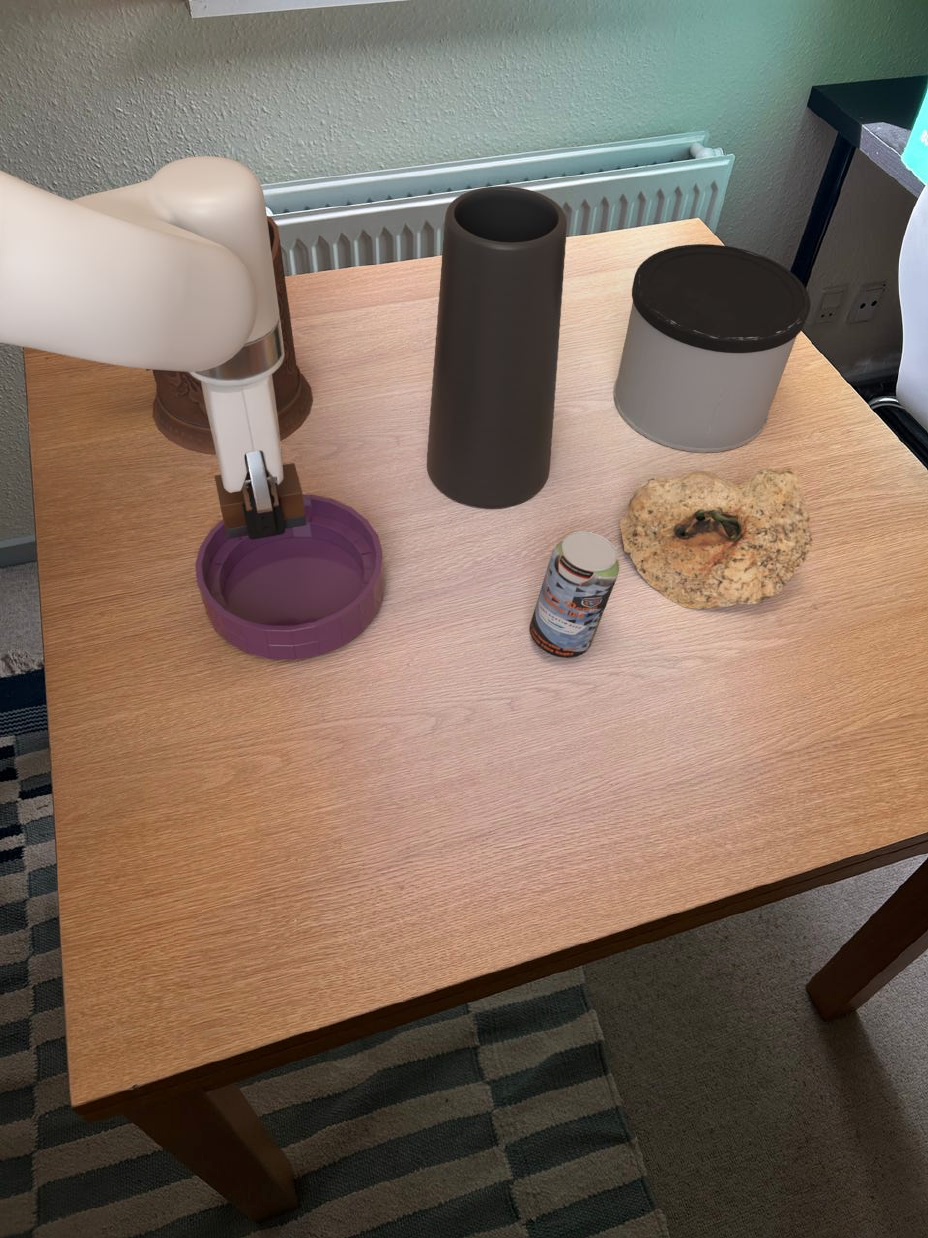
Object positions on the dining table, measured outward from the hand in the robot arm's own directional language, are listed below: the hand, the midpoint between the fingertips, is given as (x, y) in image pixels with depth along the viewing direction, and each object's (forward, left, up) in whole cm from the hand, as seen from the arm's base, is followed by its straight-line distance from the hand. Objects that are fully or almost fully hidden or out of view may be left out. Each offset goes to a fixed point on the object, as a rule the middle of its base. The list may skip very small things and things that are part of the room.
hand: (262, 514), depth 82 cm
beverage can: (+9, -27, -10) cm, 30 cm away
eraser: (0, 0, 0) cm, 0 cm away
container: (+49, -24, -10) cm, 56 cm away
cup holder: (+18, +23, -10) cm, 31 cm away
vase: (+26, -9, -10) cm, 30 cm away
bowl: (0, -2, -10) cm, 10 cm away
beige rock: (+25, -35, -10) cm, 44 cm away
